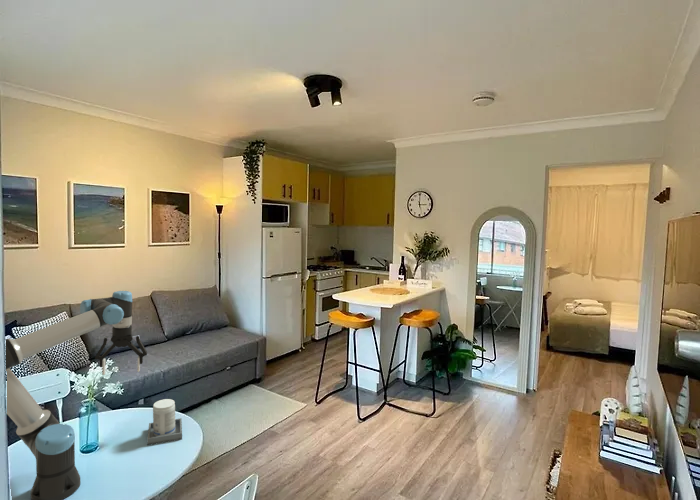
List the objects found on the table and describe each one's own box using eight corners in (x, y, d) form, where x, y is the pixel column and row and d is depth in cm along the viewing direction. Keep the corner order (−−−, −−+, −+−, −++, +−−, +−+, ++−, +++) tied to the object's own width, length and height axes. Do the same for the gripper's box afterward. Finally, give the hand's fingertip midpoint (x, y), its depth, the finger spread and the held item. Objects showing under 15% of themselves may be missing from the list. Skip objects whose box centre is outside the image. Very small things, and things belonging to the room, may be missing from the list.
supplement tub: (175, 426, 197) (176, 397, 196) (174, 436, 188) (174, 406, 187) (154, 429, 193) (154, 400, 192) (151, 439, 185) (152, 409, 183)
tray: (147, 445, 181) (147, 438, 181) (149, 429, 195) (149, 423, 194) (182, 439, 187) (182, 433, 187) (181, 423, 201) (181, 418, 200)
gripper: (87, 329, 168) (86, 378, 170) (152, 326, 178) (152, 372, 180) (90, 325, 175) (90, 372, 177) (153, 322, 185) (152, 366, 187)
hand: (121, 372), depth 178 cm, fingers open, 13 cm apart
